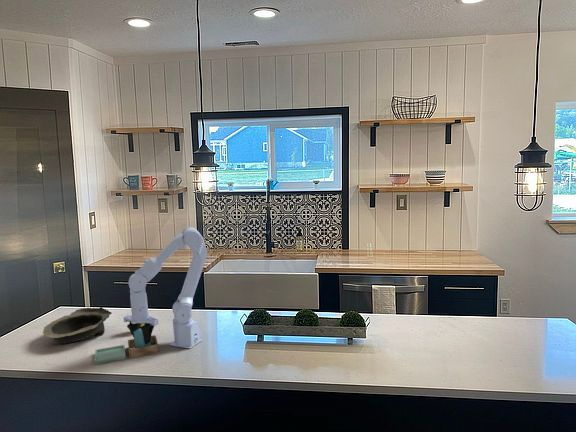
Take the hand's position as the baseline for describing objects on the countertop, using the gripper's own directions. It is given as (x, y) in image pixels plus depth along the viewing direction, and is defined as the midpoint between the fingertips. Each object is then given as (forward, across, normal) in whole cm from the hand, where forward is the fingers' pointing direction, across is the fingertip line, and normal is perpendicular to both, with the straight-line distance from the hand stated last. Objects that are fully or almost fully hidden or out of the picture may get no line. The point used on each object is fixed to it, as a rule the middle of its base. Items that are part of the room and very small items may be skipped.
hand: (142, 342), depth 164 cm
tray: (+3, -8, -8) cm, 12 cm away
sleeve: (+3, 0, 0) cm, 3 cm away
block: (+2, 0, 0) cm, 2 cm away
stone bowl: (+3, -34, +1) cm, 34 cm away
